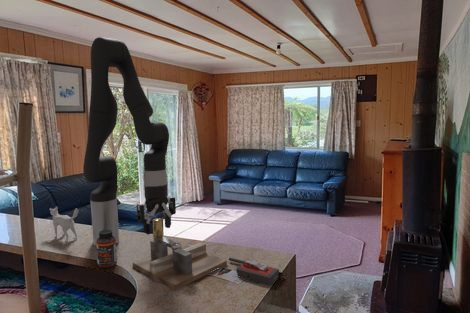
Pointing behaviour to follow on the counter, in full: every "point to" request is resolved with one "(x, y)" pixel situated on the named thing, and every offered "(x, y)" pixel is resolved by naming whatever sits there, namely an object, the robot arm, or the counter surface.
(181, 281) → the lock base
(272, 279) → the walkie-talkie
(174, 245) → the swing bar
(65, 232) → the cat figurine
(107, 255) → the supplement bottle
